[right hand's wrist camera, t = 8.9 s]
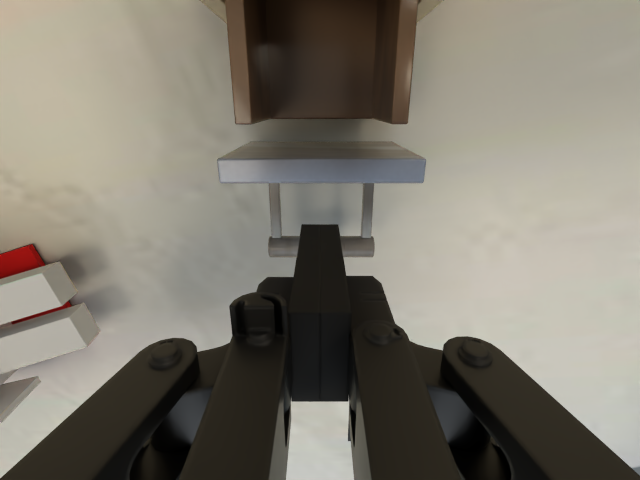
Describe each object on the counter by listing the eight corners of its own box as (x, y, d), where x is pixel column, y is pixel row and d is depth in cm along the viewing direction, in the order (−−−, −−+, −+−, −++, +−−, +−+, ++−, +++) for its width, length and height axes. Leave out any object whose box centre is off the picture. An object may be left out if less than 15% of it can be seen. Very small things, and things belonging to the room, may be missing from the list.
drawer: (386, 234, 27) (412, 287, 19) (256, 234, 27) (230, 287, 19) (418, -210, 18) (492, -449, 10) (224, -210, 18) (152, -448, 10)
